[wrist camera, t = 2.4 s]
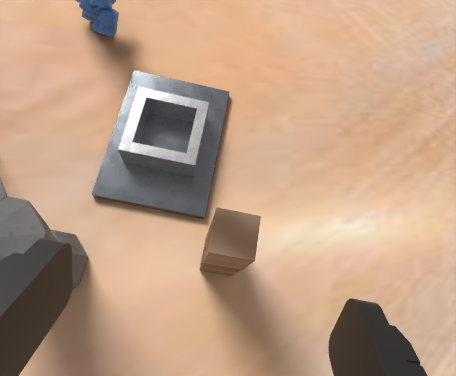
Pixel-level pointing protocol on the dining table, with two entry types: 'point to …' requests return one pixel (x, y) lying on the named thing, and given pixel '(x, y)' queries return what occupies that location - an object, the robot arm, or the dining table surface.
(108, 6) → the grapes
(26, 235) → the coffeepot
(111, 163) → the keeper cradle
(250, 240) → the walnut post
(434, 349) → the dining table surface
